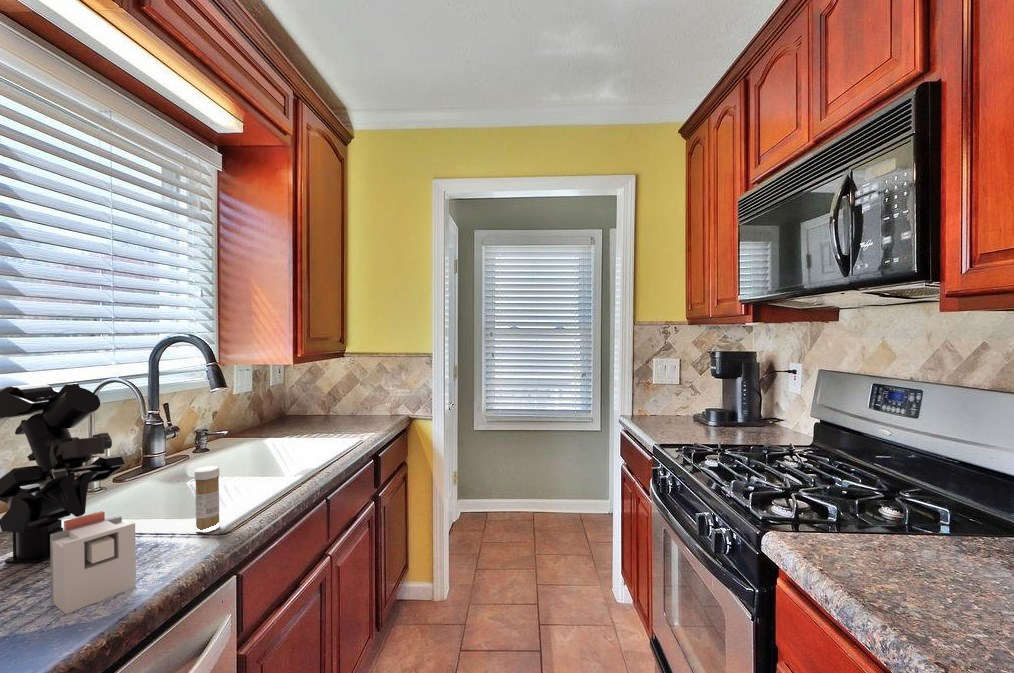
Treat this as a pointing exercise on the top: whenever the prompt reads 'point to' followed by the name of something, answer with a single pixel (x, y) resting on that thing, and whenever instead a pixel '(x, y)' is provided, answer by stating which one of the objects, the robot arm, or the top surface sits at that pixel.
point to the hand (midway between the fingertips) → (80, 515)
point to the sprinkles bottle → (207, 496)
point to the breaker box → (91, 564)
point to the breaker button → (95, 547)
